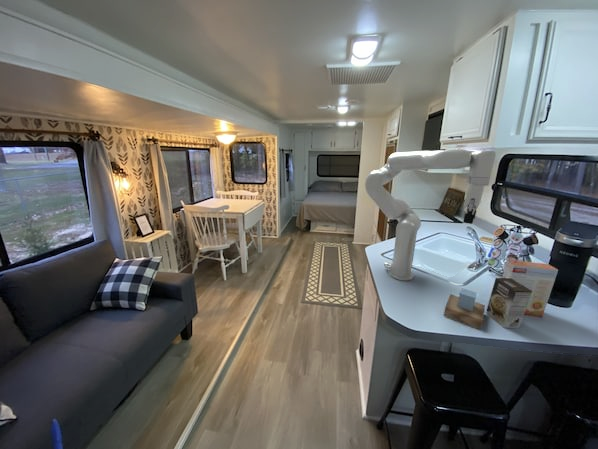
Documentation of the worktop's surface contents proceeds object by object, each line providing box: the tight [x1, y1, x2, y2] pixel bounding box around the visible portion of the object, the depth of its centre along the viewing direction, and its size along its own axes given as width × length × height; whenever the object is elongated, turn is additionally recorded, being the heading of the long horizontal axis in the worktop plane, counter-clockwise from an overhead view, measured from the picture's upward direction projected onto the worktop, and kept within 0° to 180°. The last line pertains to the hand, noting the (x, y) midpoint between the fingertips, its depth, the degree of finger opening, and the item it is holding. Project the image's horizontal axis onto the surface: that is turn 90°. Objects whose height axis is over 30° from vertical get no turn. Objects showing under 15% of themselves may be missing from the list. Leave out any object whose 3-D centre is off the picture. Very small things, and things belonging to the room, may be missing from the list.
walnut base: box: [443, 293, 486, 330], centre depth 94 cm, size 12×12×4 cm
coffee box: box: [485, 277, 532, 329], centre depth 90 cm, size 9×6×16 cm
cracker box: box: [501, 259, 559, 317], centre depth 96 cm, size 14×6×21 cm, turn 73°
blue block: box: [457, 287, 478, 311], centre depth 93 cm, size 5×5×6 cm
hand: (468, 220), depth 103 cm, fingers open, 9 cm apart
